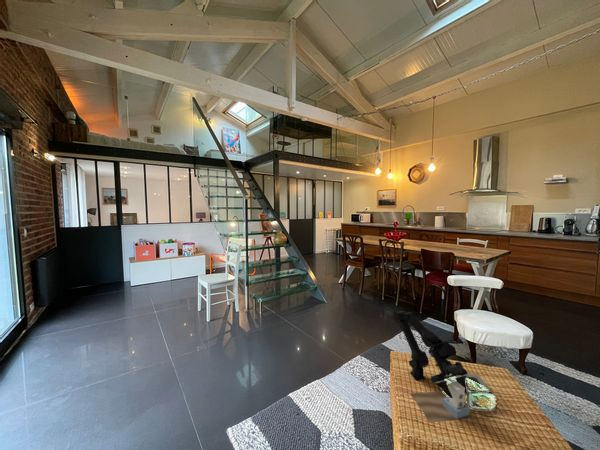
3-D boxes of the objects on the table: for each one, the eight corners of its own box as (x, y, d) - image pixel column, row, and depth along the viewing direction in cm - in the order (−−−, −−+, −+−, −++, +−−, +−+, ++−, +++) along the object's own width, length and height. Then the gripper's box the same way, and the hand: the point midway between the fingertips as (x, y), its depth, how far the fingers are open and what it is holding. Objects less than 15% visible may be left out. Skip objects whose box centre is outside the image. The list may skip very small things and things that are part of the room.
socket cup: (442, 405, 120) (442, 398, 120) (454, 401, 122) (455, 395, 122) (456, 418, 113) (457, 411, 112) (469, 414, 115) (470, 407, 114)
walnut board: (409, 394, 128) (409, 393, 128) (447, 391, 130) (447, 390, 130) (430, 423, 111) (430, 422, 111) (473, 419, 113) (473, 418, 113)
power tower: (448, 406, 119) (449, 383, 118) (455, 404, 120) (456, 381, 119) (456, 414, 114) (458, 390, 113) (463, 411, 116) (465, 388, 115)
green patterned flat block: (491, 396, 127) (491, 391, 127) (469, 393, 129) (470, 389, 129) (478, 378, 140) (478, 374, 140) (458, 376, 142) (458, 372, 142)
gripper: (436, 360, 116) (455, 398, 107) (465, 353, 121) (486, 389, 112) (423, 364, 125) (439, 400, 115) (451, 358, 130) (469, 392, 120)
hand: (459, 395), depth 115 cm, fingers open, 9 cm apart
